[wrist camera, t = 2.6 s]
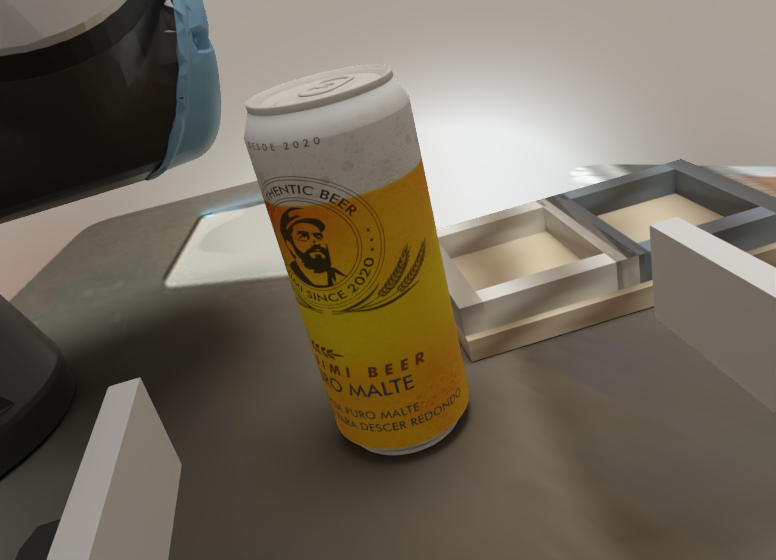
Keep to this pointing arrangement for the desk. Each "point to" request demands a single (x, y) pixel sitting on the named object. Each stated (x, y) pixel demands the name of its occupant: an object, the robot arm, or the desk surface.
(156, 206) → the desk surface
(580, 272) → the socket board
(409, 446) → the beer can
